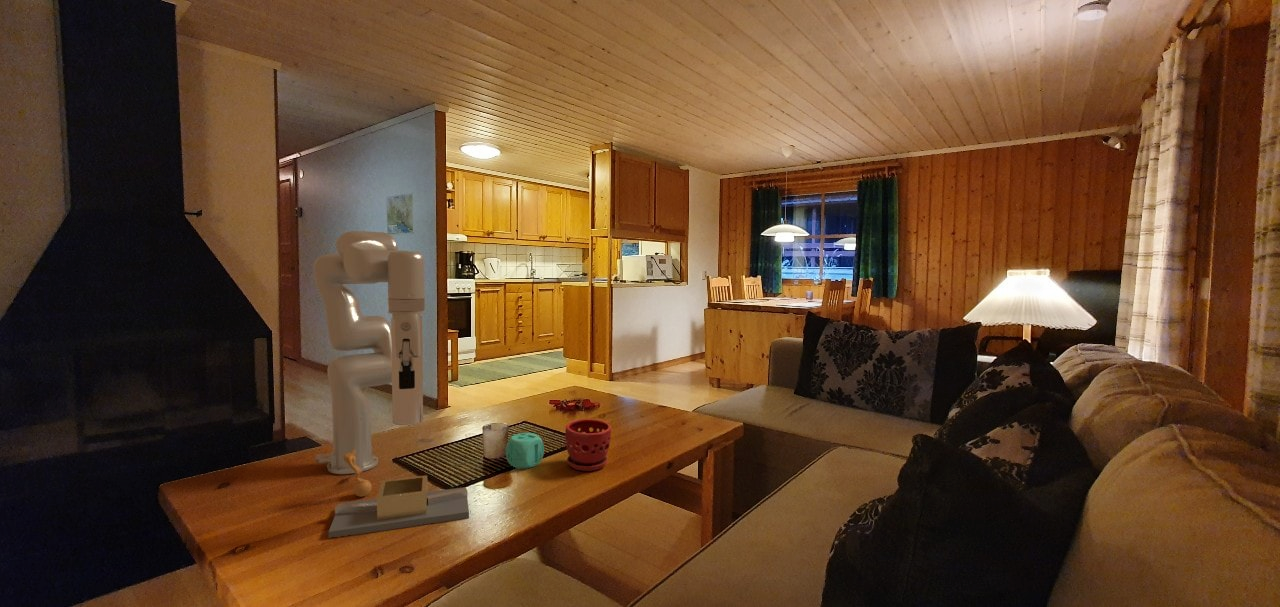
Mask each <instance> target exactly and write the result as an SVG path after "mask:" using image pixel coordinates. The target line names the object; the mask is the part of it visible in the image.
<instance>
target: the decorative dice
mask: <svg viewBox="0 0 1280 607" xmlns="http://www.w3.org/2000/svg"><path fill="white" fill-rule="evenodd" d="M504 451H505V457H506V460H507V462H508V464H509V465H510V466H511V467H512V466H513V468H514V467H515V469H517V470H518V469H519V470H528V469H532V467H533V468H535V467H537V466H538V465H539V464H540V463H541V461H542V459H543V457H544V454H545V445H544V441H543V440H542V438H541V437H540V435H539V434H536V433H533V432H532V433H531V432H522V433H521V432H520V433H516V434H514V435H512V436H511V437H510V438H509V439H508V441H507V443H506V446H505V450H504Z"/></svg>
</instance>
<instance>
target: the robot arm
mask: <svg viewBox="0 0 1280 607" xmlns="http://www.w3.org/2000/svg"><path fill="white" fill-rule="evenodd" d="M335 245H336V246H335V247H336V250H337V253H328V254H323V255H320V256H318V257H317V258H316V259H315V261H314V263H313V268H312V269H313V272H312V273H313V280H314V283H315V286H316V289H317V291H318V293H319V295H320V297H321V299H322V301H323V305H324V309H325V317H326V324H327V331H328V332H327V333H328V338H329V343H330V345H331V347H332V349H333V350H335V351H339V352H350V351H361V350H362V351H363V350H373V352H370V353H356V354H349V355H347V354H346V355H342V356H338V357H336V358H334V359H332V360H331V361H330V362H329V363H328V365H327V379H328V382H329V389H330V395H331V406H332V408H331V410H332V441H333V447H332V448H333V450H332V451H331V452H329V453H325V454H324V453H322V454H319V453H318V454H316V455H315V462H316V463H317V462H318V464H326V463H328V464H327V465H326V466H327V471H328V472H329V473H331V474H333V475H350V474H355V473H356V472H355V471H353V469H352V468H351V467H349V465H348V464H347V463H346V462H345V461H344V459H343V456H344V455H345V454H347V453H349V452H351V451H352V450H355V452H356V454H355V465H357V466H358V467H359V468H361V470H362V472H365V471H368V470H370V469H371V470H372V469H373V468H374V467H376V466H377V465H378V463H379V458H378V456H376V455H375V454H373V446H372V444H373V442H372V440H373V439H372V435H373V434H372V404H371V401H370V398H368V397H367V395H366V394H364V393H363V392H362V391H361V390H362V389H365V388H370V387H377V386H383V385H384V386H385V385H388V384H392V340H391V325H390V324H391V323H390V322H389V320H387V318H386V317H383V316H381V315H367V316H366V315H365V316H363V315H362V313H361V307H360V301H359V299H358V298H357V296H356V295H355V294H354V293H353V292H352V291H351V290H350V289H349V288H347V287H346V286H345V285H366V284H367V285H368V284H369V285H373V284H378V283H387V306H388V310H387V311H388V312H387V313H388V314H389V315H390V314H391V315H392V314H395V315H394V318H395V347H396V356H397V357H398V358H400V371H399V389H413V388H415V370H413V358H414V357H413V355H414V356H417V358H418V357H420V319H419V318H420V316H421V314H425V312H426V310H425V306H426V305H425V302H426V301H425V300H426V298H425V296H426V295H425V258H424V255H423V254H422V252H419V251H409V250H398V247H399V246H398V243H397V241H396V239H395V237H393V235H392V234H390V233H387V232H381V231H379V232H378V231H362V230H352V231H346V232H344V233H342V234H341V235H340V236H339V237H338V239H337V241H336V243H335ZM405 325H407V327H406V326H405ZM409 339H410V347H409ZM401 350H402V352H401ZM411 350H412V357H409V353H411ZM399 352H400V355H399ZM402 353H403V357H402ZM399 356H400V357H399ZM409 360H411V361H409Z"/></svg>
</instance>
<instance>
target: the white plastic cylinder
mask: <svg viewBox="0 0 1280 607" xmlns="http://www.w3.org/2000/svg"><path fill="white" fill-rule="evenodd" d="M391 315H392V316H391V319H390V321H391V322H390V324H391V325H390V326H391V340H392V383H391V386H392V387H391V390H392V391H391V396H392V398H391V399H392V400H391V402H392V408H391V409H392V423H393V424H394V425H397V426H410V425H415V424H416V425H417V424H419V423H421V422H423V420H424V405H423V404H424V392H423V391H424V390H423V389H424V385H423V384H424V382H423V381H424V380H423V379H424V376H423V374H424V373H423V371H424V370H423V368H424V367H423V316H421V315H420V318H419V319H420V357H418V358H417V356H414V355H413V357H414V358H413V370H415V388H413V389H399V371H400V358H398V357H397V356H396V347H395V318H394V315H395V314H391ZM405 326H406V327H407V325H405ZM409 347H410V339H409ZM401 352H402V350H401ZM399 355H400V352H399ZM399 357H400V356H399ZM402 357H403V353H402ZM409 357H412V350H411V353H409ZM409 361H411V360H409Z"/></svg>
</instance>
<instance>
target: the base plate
mask: <svg viewBox="0 0 1280 607" xmlns="http://www.w3.org/2000/svg"><path fill="white" fill-rule="evenodd" d="M464 488H466V489H467V487H465V486H464V487H456V488H448V489H441V490H433V491H427V496H430V495H435V494H440V493H445V492H449V491H454V490H459V489H464ZM375 502H377V497H376V498H370V499H363V500H362V499H361V500H355V501H354V500H353V501H346V502H345V501H344V502H340V503H339V504H354V503H375ZM469 510H470V509H469V502H468V496H467V497H465V498H460V499H456V500H451V501H447V502H442V503H437V504H433V505H428V504H427V514H422V515H415V516H407V517H400V518H393V519H386V520H379V521H377V512H374V513H354V514H335V513H334V517H333V520H332V522H331V525H330V526H329V527H330V528H329V530H328V539H329V538H330V539H332V538H331V537H337V538H342V537H341V536H344V537H349V536H348V535H351V536H355V535H364V534H368V533H369V534H370V533H376V532H377V533H378V532H384V531H390V530H397V529H403V528H405V529H406V528H410V527H419V526H424V525H425V524H426V525H432V524H431V523H433V524H437V523H438V524H439V523H444V522H446V523H447V522H452V521H458V520H467V519H469V518H470V511H469ZM423 524H424V525H423ZM418 525H419V526H418Z"/></svg>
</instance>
